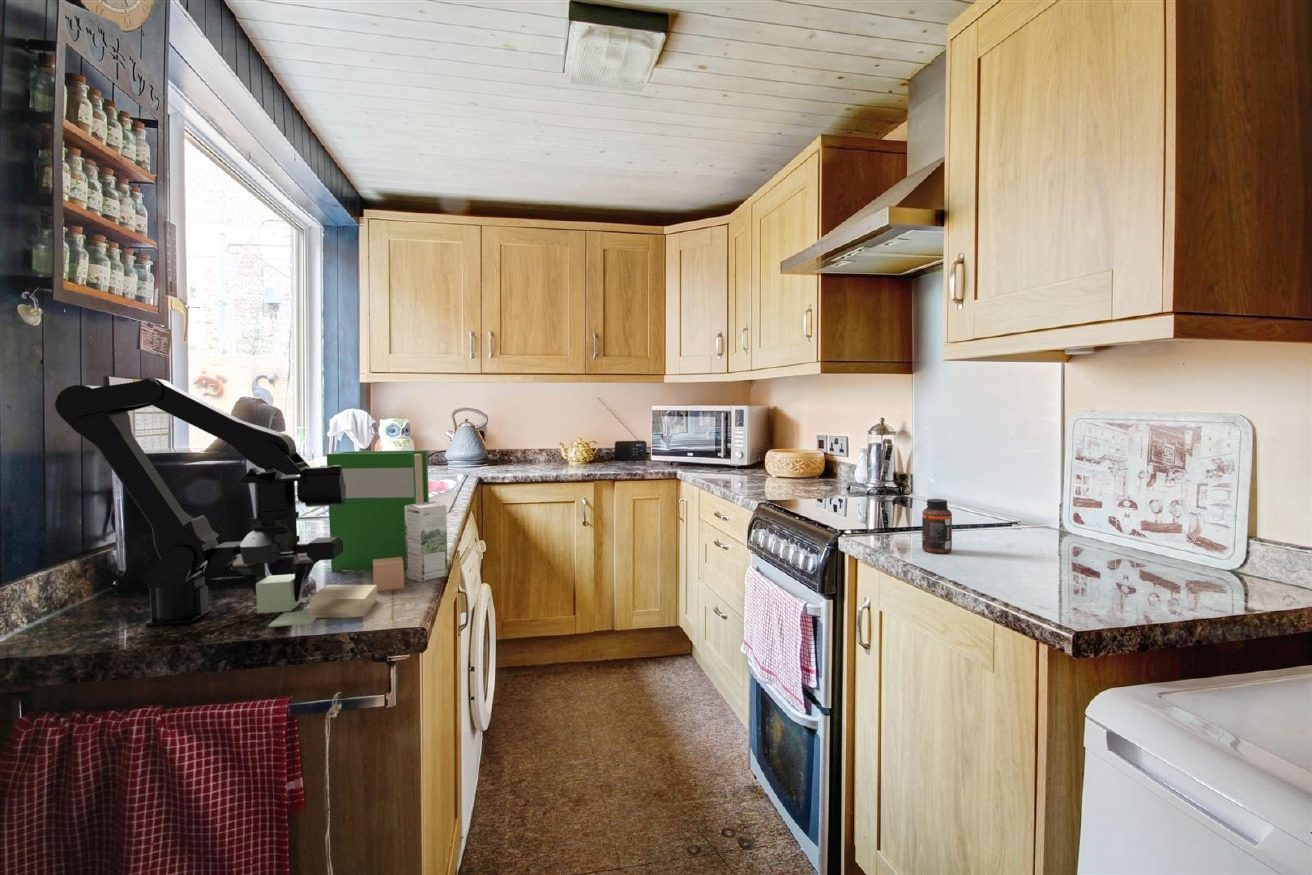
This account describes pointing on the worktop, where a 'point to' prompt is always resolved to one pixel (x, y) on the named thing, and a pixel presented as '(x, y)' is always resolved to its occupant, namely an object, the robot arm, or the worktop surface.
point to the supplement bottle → (937, 527)
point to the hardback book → (376, 504)
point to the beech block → (342, 601)
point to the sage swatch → (292, 619)
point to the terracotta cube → (388, 573)
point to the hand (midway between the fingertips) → (280, 602)
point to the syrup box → (426, 541)
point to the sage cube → (276, 594)
